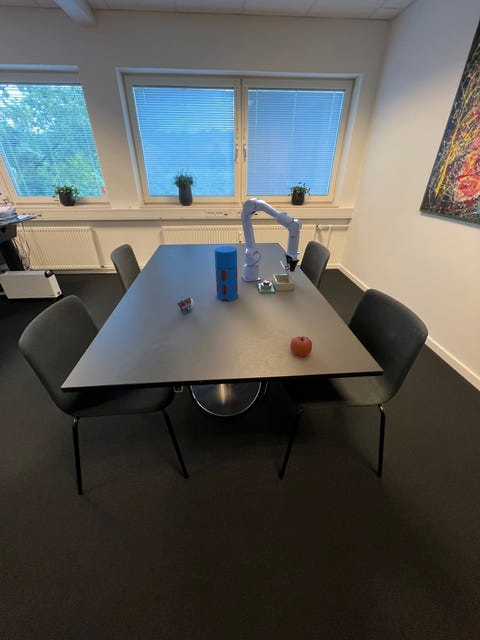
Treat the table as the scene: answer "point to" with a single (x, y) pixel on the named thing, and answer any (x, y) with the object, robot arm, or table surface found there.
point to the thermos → (226, 272)
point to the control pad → (266, 288)
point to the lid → (287, 270)
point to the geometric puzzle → (185, 303)
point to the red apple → (301, 345)
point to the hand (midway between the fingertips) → (290, 269)
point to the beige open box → (282, 282)
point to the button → (266, 282)
